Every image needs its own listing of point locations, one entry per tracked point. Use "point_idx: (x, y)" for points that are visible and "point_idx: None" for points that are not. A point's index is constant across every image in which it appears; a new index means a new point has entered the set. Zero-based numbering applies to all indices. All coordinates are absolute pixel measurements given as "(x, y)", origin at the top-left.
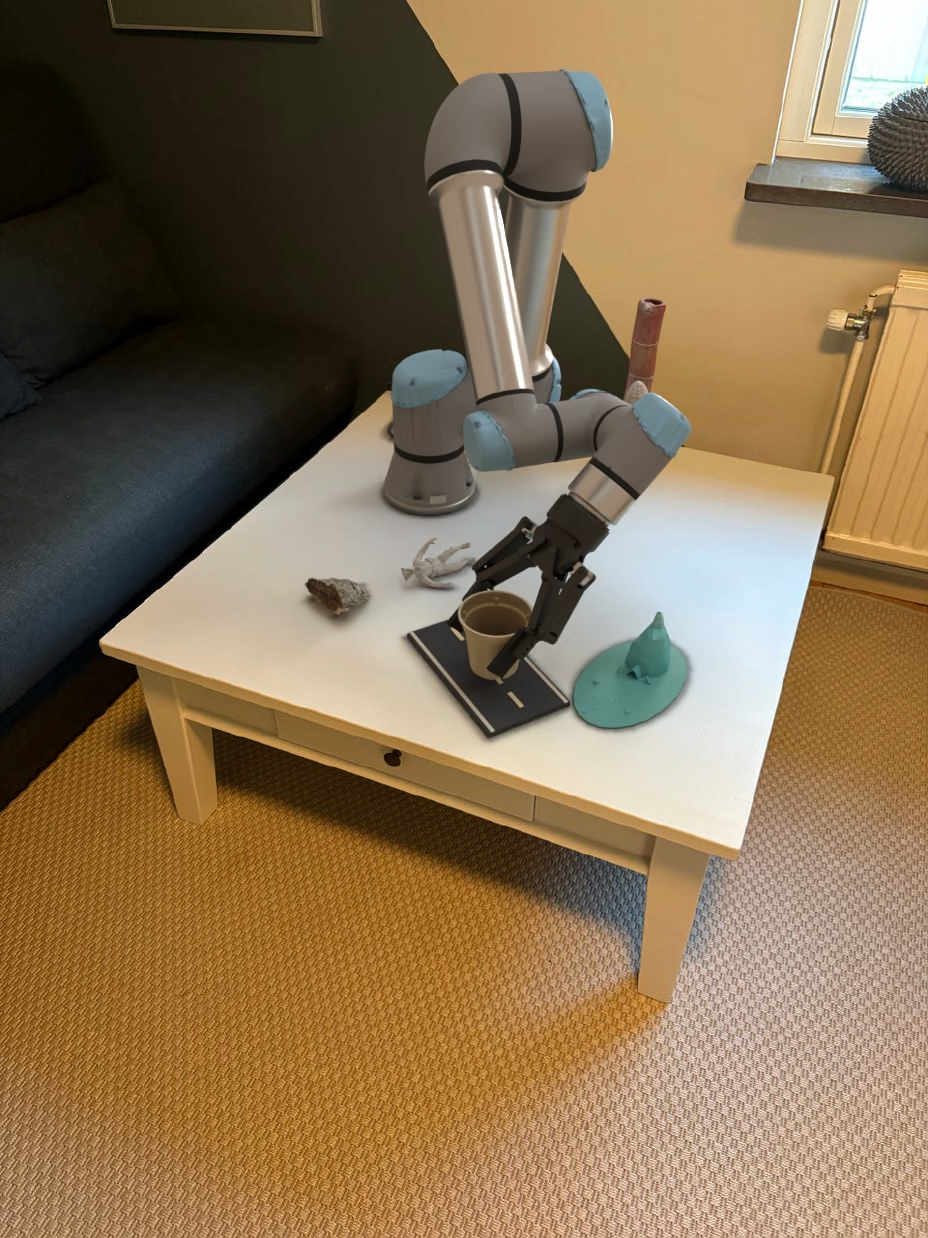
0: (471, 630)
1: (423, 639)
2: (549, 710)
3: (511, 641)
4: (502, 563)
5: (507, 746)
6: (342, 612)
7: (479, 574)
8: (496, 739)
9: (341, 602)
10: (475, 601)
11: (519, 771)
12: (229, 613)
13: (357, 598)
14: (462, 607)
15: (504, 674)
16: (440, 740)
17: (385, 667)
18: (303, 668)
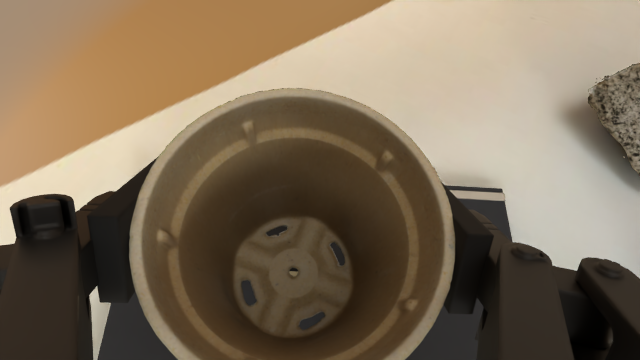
0: (259, 92)
1: (470, 207)
2: (106, 328)
3: (133, 188)
4: (547, 351)
5: (104, 191)
6: (592, 101)
7: (543, 257)
8: None
9: (608, 76)
10: (425, 217)
11: (36, 174)
12: (637, 3)
13: (628, 131)
14: (395, 139)
15: None
16: (203, 105)
17: (425, 121)
18: (473, 26)
